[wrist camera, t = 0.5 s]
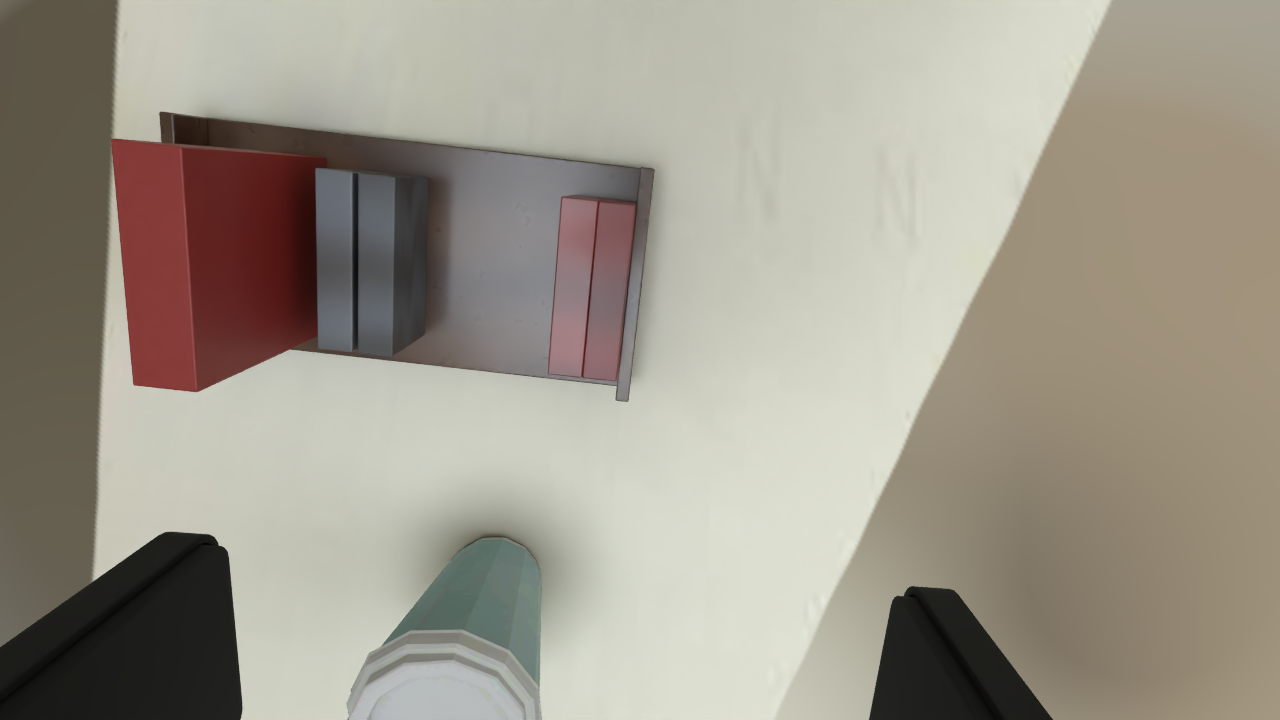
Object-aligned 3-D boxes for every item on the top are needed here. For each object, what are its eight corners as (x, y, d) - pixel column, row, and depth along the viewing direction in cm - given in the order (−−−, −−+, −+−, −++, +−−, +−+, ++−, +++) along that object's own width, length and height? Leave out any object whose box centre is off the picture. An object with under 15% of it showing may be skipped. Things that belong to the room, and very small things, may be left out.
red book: (277, 151, 41) (110, 138, 28) (326, 157, 41) (181, 146, 28) (282, 326, 43) (132, 385, 31) (328, 332, 44) (197, 392, 31)
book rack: (204, 117, 41) (122, 106, 35) (654, 170, 41) (654, 167, 35) (217, 337, 45) (144, 362, 38) (630, 383, 45) (626, 416, 39)
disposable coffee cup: (543, 494, 47) (495, 633, 33) (589, 620, 50) (564, 799, 35) (405, 532, 48) (300, 682, 34) (458, 653, 51) (381, 840, 36)
